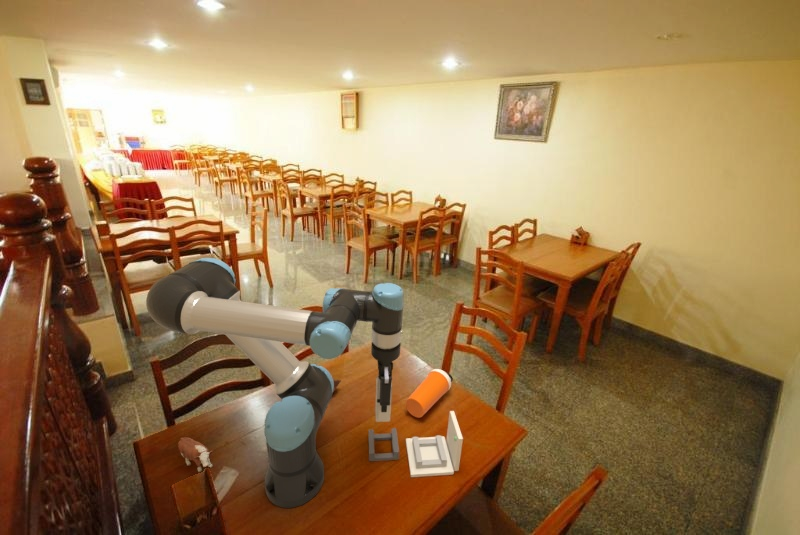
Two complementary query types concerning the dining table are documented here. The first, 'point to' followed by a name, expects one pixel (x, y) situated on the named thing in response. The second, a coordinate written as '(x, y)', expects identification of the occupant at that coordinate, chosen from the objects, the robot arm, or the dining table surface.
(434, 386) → the shaker bottle
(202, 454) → the bull figurine
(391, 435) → the grey square frame
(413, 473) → the port
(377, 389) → the plug
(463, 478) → the dining table surface
